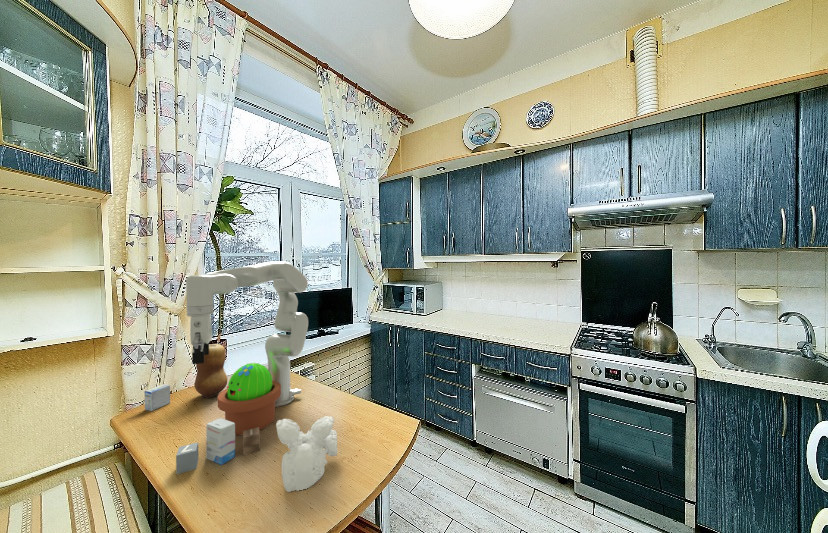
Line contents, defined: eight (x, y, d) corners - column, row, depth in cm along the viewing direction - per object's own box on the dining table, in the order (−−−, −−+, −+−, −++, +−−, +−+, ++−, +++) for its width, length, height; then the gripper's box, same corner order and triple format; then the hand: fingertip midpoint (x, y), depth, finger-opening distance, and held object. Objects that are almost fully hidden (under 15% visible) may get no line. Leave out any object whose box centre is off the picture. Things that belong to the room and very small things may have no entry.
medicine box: (163, 402, 139) (163, 383, 138) (170, 403, 137) (170, 384, 137) (144, 410, 131) (143, 391, 131) (151, 411, 130) (151, 392, 130)
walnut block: (259, 443, 107) (259, 426, 107) (259, 450, 103) (259, 433, 103) (243, 447, 105) (243, 430, 105) (243, 455, 100) (242, 437, 100)
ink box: (236, 456, 100) (236, 422, 100) (221, 465, 95) (220, 429, 95) (220, 449, 103) (220, 416, 103) (205, 458, 99) (204, 423, 99)
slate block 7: (198, 459, 98) (198, 441, 98) (196, 468, 94) (195, 450, 94) (179, 464, 96) (179, 446, 96) (176, 474, 91) (176, 455, 91)
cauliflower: (268, 479, 77) (277, 408, 93) (271, 511, 87) (279, 442, 103) (342, 466, 83) (339, 402, 99) (336, 497, 93) (334, 434, 109)
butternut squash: (232, 393, 147) (231, 344, 146) (201, 404, 136) (200, 351, 135) (219, 387, 154) (218, 340, 154) (188, 397, 143) (187, 346, 142)
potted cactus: (255, 405, 135) (254, 351, 134) (292, 415, 126) (291, 357, 126) (205, 431, 114) (204, 368, 114) (245, 445, 106) (244, 376, 105)
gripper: (209, 313, 97) (210, 365, 97) (216, 306, 112) (217, 350, 112) (180, 315, 93) (181, 369, 93) (192, 307, 108) (193, 353, 109)
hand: (201, 359), depth 103 cm, fingers open, 9 cm apart
